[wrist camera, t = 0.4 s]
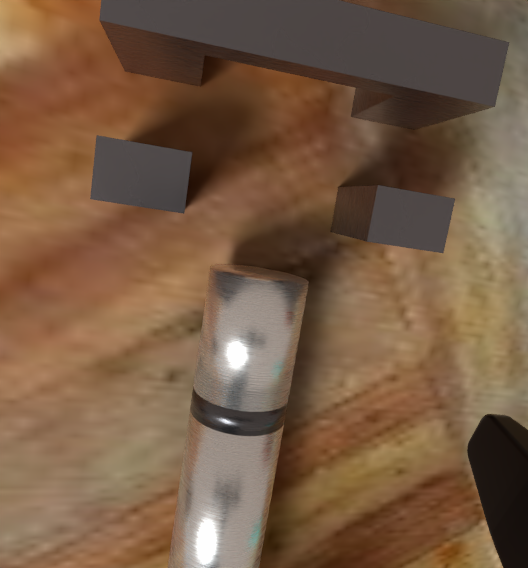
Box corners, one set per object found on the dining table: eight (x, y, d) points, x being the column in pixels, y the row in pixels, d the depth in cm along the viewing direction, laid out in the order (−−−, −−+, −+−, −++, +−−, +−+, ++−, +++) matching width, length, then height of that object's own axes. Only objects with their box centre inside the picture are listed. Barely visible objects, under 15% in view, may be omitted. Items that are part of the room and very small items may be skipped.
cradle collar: (392, 241, 22) (443, 253, 18) (111, 197, 20) (90, 199, 15) (400, 198, 22) (455, 198, 17) (117, 148, 19) (96, 135, 15)
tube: (243, 583, 24) (254, 658, 20) (162, 583, 23) (158, 660, 19) (296, 272, 22) (321, 289, 18) (207, 260, 21) (213, 275, 17)
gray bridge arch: (414, 129, 21) (494, 106, 16) (125, 71, 19) (99, 20, 13) (423, 82, 21) (509, 42, 15) (130, 17, 19) (106, -58, 13)
